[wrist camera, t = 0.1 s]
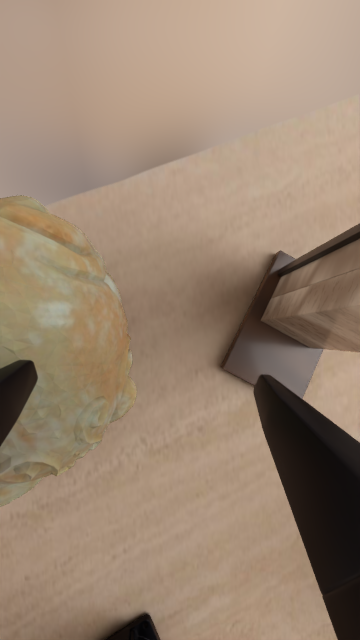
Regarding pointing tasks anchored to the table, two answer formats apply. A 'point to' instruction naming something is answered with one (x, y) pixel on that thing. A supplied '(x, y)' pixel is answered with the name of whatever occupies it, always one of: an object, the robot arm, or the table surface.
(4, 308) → the sculpture
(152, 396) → the table surface
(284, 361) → the white book shelf
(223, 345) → the table surface
